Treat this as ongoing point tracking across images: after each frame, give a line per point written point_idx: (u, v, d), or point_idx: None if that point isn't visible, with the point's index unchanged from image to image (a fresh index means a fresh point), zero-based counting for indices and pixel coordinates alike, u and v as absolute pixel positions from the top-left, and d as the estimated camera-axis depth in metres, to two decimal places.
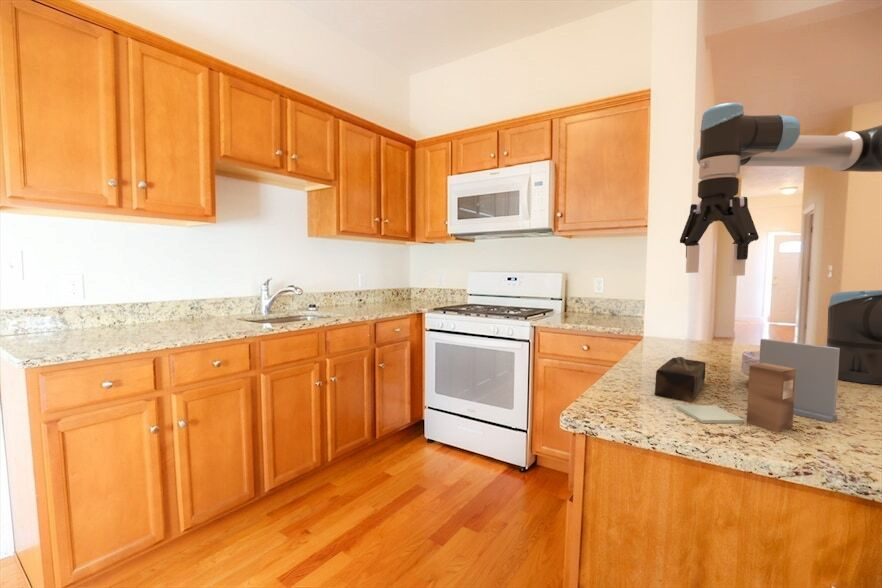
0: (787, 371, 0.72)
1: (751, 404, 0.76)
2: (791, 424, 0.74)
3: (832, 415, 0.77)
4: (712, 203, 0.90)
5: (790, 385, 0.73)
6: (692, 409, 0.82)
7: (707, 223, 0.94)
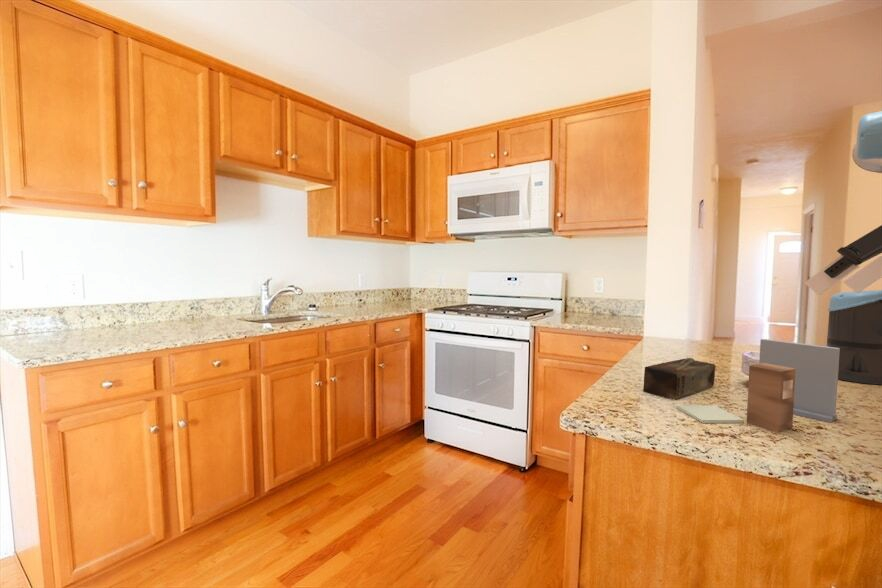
0: (787, 371, 0.72)
1: (751, 404, 0.76)
2: (791, 424, 0.74)
3: (832, 415, 0.77)
4: None
5: (790, 385, 0.73)
6: (692, 409, 0.82)
7: None
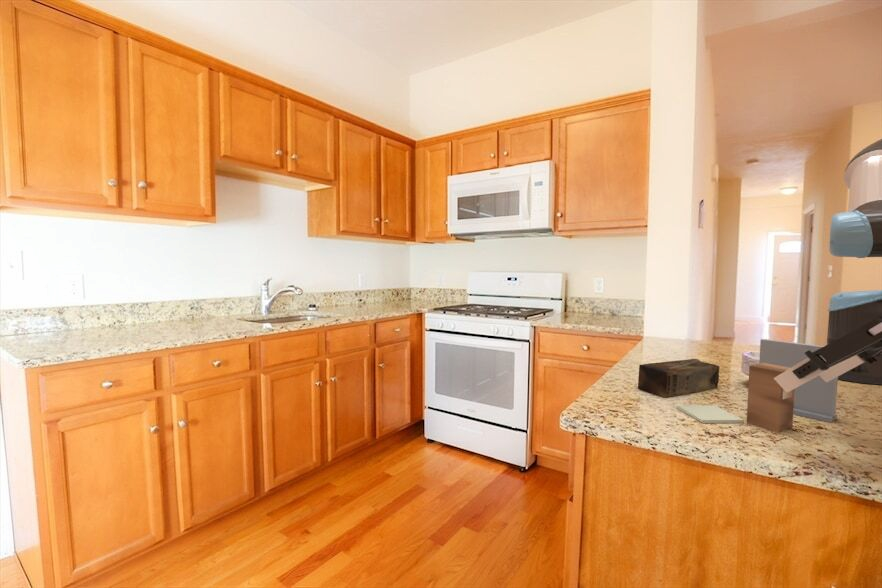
0: None
1: (751, 404, 0.76)
2: (791, 424, 0.74)
3: (832, 415, 0.77)
4: None
5: None
6: (692, 409, 0.82)
7: None
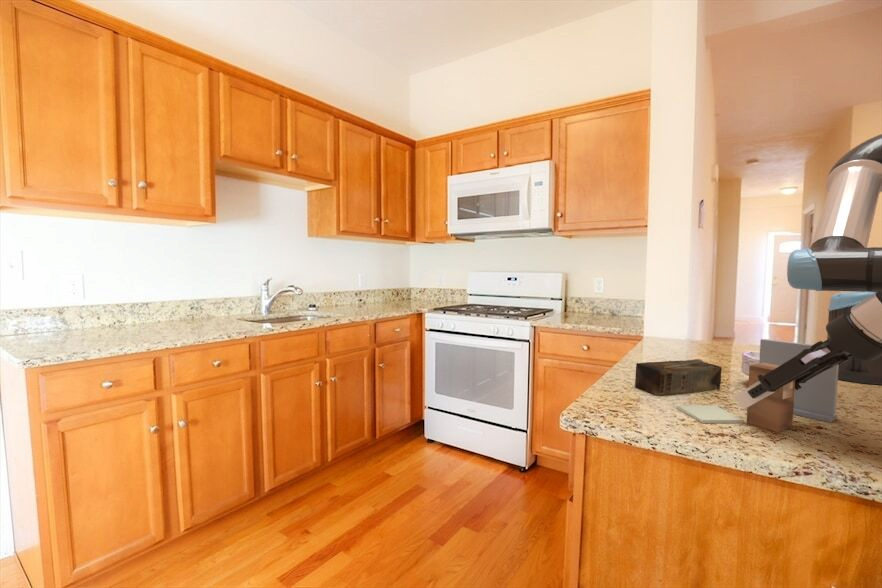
0: None
1: None
2: (791, 424, 0.74)
3: (832, 415, 0.77)
4: (843, 354, 0.65)
5: (790, 385, 0.73)
6: (692, 409, 0.82)
7: None
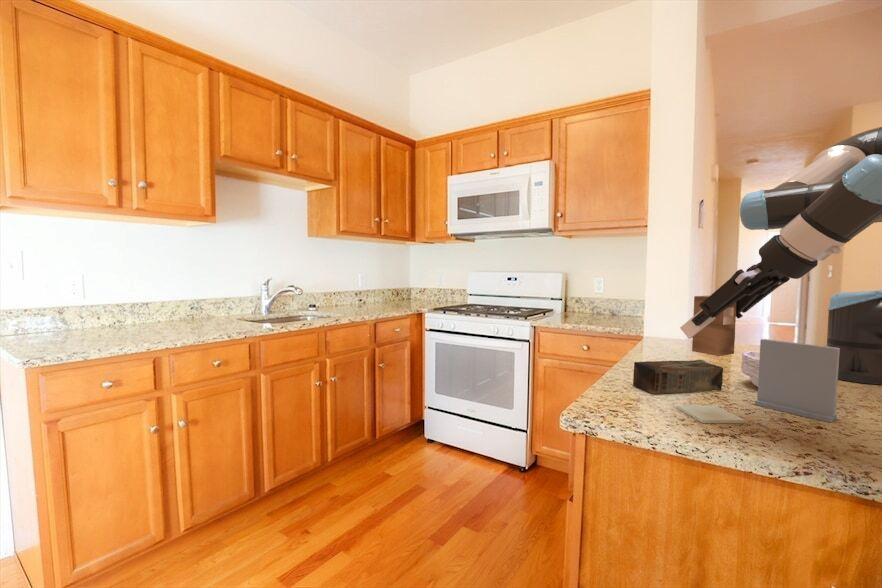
0: None
1: None
2: (732, 350, 0.78)
3: (832, 415, 0.77)
4: (775, 275, 0.69)
5: (731, 312, 0.77)
6: (692, 409, 0.82)
7: None
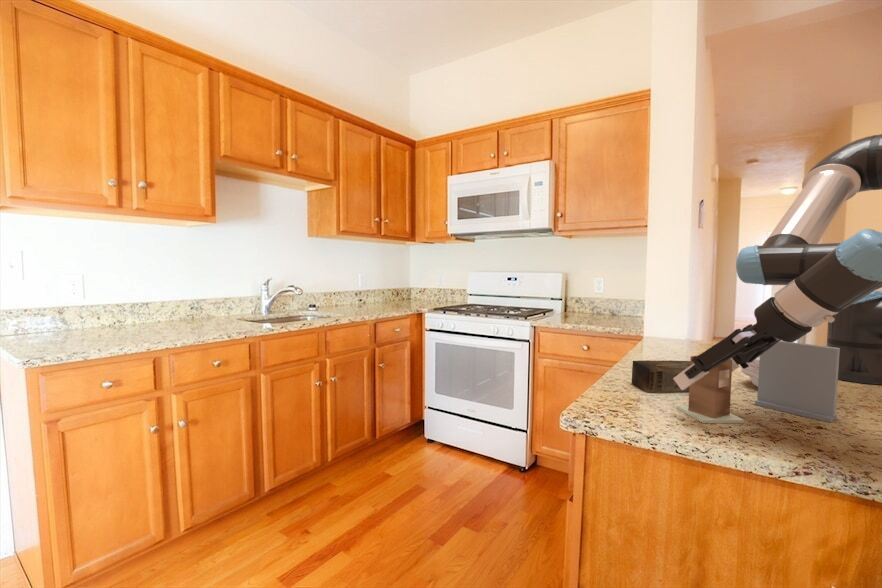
0: None
1: (692, 393, 0.80)
2: (728, 411, 0.79)
3: (832, 415, 0.77)
4: (770, 336, 0.70)
5: (726, 374, 0.77)
6: None
7: None
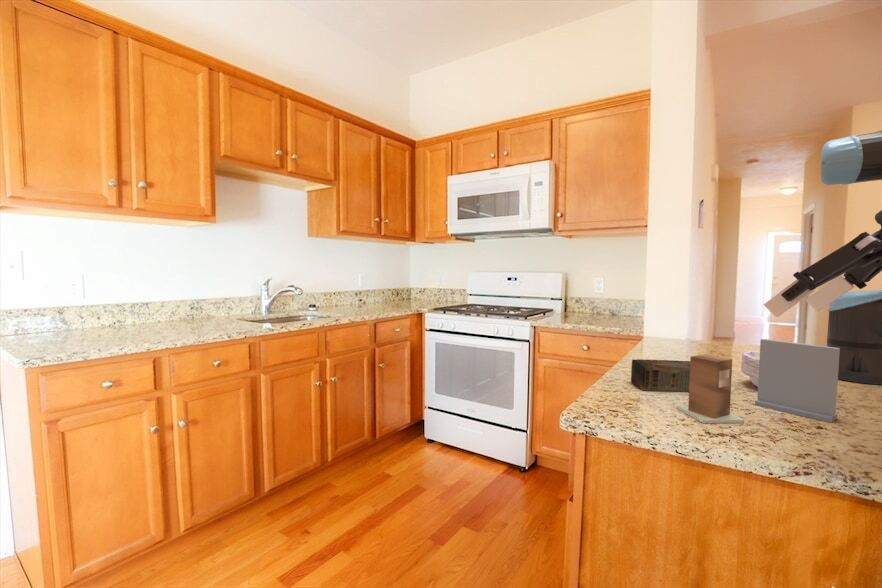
0: (723, 361, 0.77)
1: (692, 393, 0.80)
2: (728, 411, 0.79)
3: (832, 415, 0.77)
4: None
5: (726, 374, 0.77)
6: None
7: None
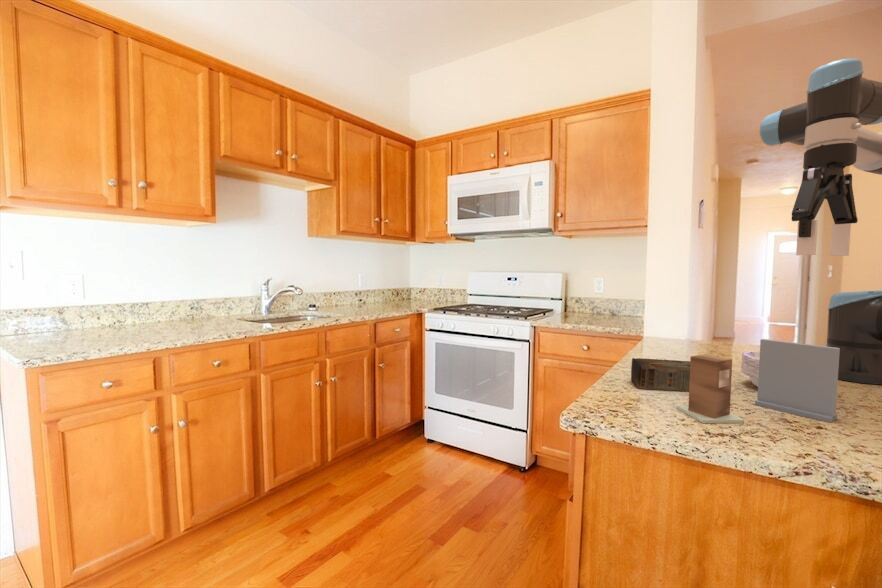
0: (723, 361, 0.77)
1: (692, 393, 0.80)
2: (728, 411, 0.79)
3: (832, 415, 0.77)
4: (835, 173, 0.78)
5: (726, 374, 0.77)
6: None
7: None
